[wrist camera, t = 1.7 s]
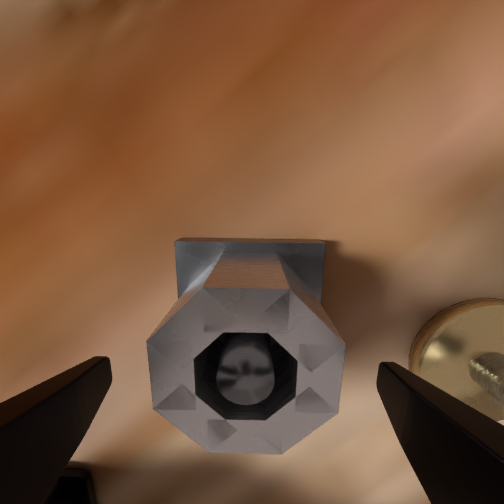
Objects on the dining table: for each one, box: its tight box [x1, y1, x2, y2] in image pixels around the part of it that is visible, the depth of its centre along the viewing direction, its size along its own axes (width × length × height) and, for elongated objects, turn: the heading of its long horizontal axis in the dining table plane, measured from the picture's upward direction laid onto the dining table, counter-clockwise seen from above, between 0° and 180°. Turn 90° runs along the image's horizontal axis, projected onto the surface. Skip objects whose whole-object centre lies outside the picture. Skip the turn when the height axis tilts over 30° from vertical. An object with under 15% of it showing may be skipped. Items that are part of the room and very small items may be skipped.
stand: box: [174, 238, 326, 405], centre depth 10 cm, size 7×7×6 cm
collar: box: [146, 253, 346, 454], centre depth 9 cm, size 6×6×4 cm
